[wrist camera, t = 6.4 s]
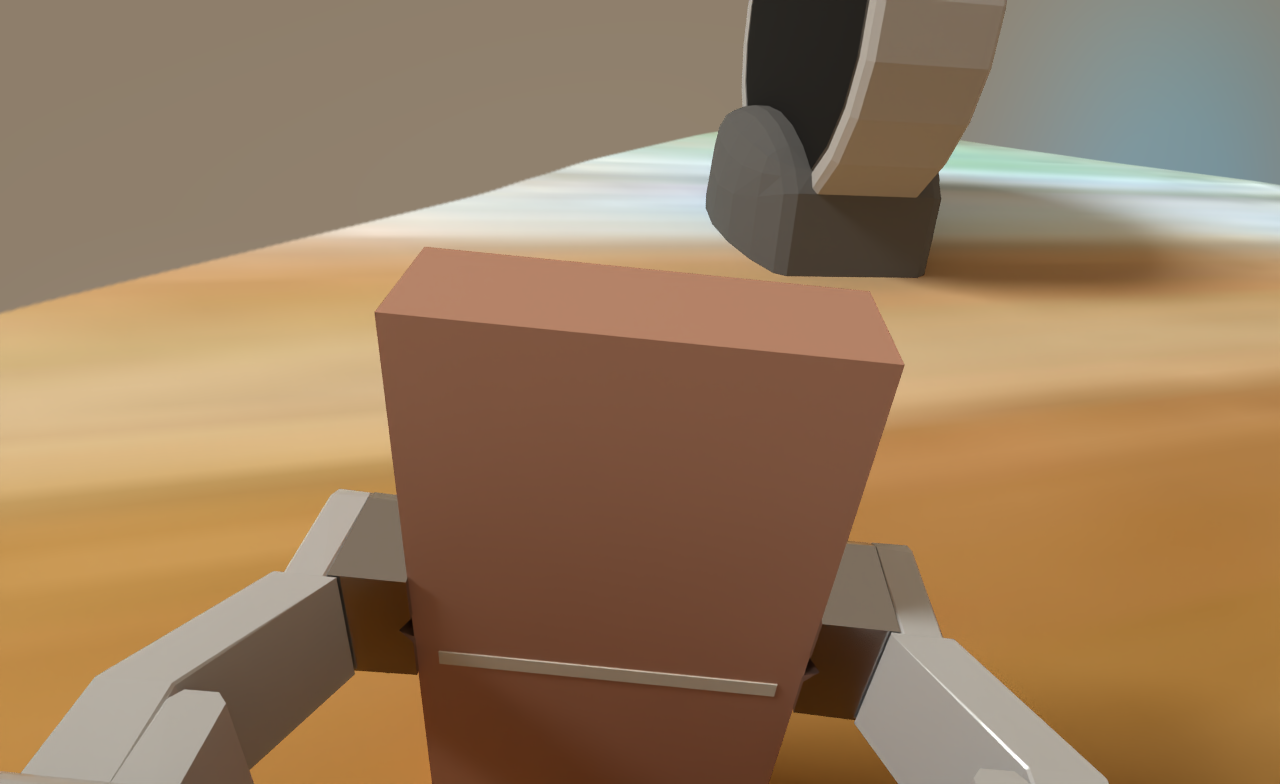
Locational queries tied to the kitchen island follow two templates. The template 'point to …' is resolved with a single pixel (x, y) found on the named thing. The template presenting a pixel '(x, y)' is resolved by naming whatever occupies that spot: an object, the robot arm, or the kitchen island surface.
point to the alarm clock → (847, 131)
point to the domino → (621, 508)
